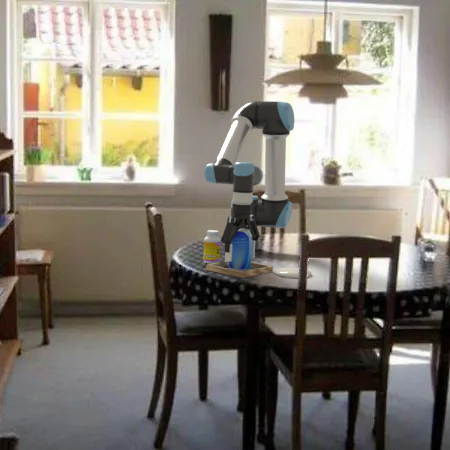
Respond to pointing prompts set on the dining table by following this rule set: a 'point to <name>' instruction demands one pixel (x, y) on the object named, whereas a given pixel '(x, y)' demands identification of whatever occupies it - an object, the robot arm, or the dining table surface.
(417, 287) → the dining table surface
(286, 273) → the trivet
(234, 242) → the beer can
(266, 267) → the oak frame
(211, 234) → the supplement bottle
